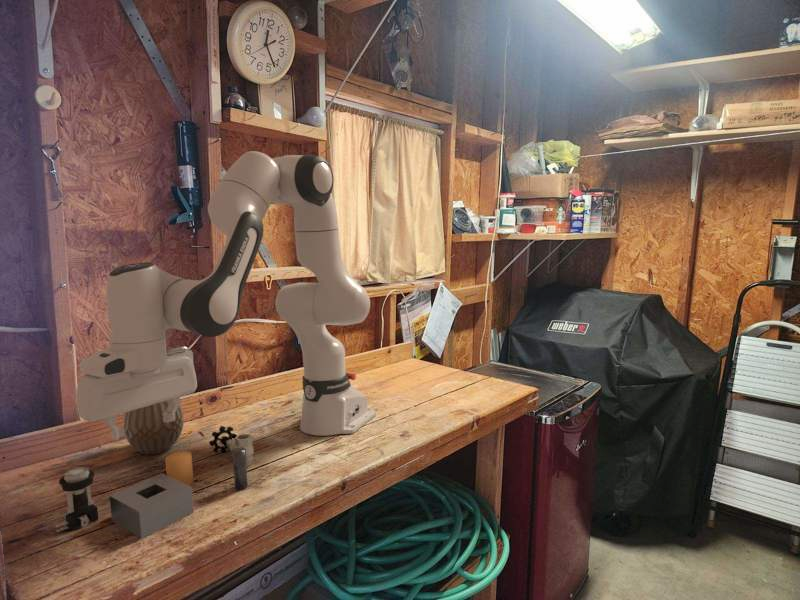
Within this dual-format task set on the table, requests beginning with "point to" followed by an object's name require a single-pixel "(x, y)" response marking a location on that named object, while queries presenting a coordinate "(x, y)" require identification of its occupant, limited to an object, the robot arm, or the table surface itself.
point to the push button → (78, 498)
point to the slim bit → (240, 468)
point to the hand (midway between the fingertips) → (144, 429)
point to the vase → (152, 428)
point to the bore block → (151, 505)
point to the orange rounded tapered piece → (180, 467)
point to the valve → (233, 443)
